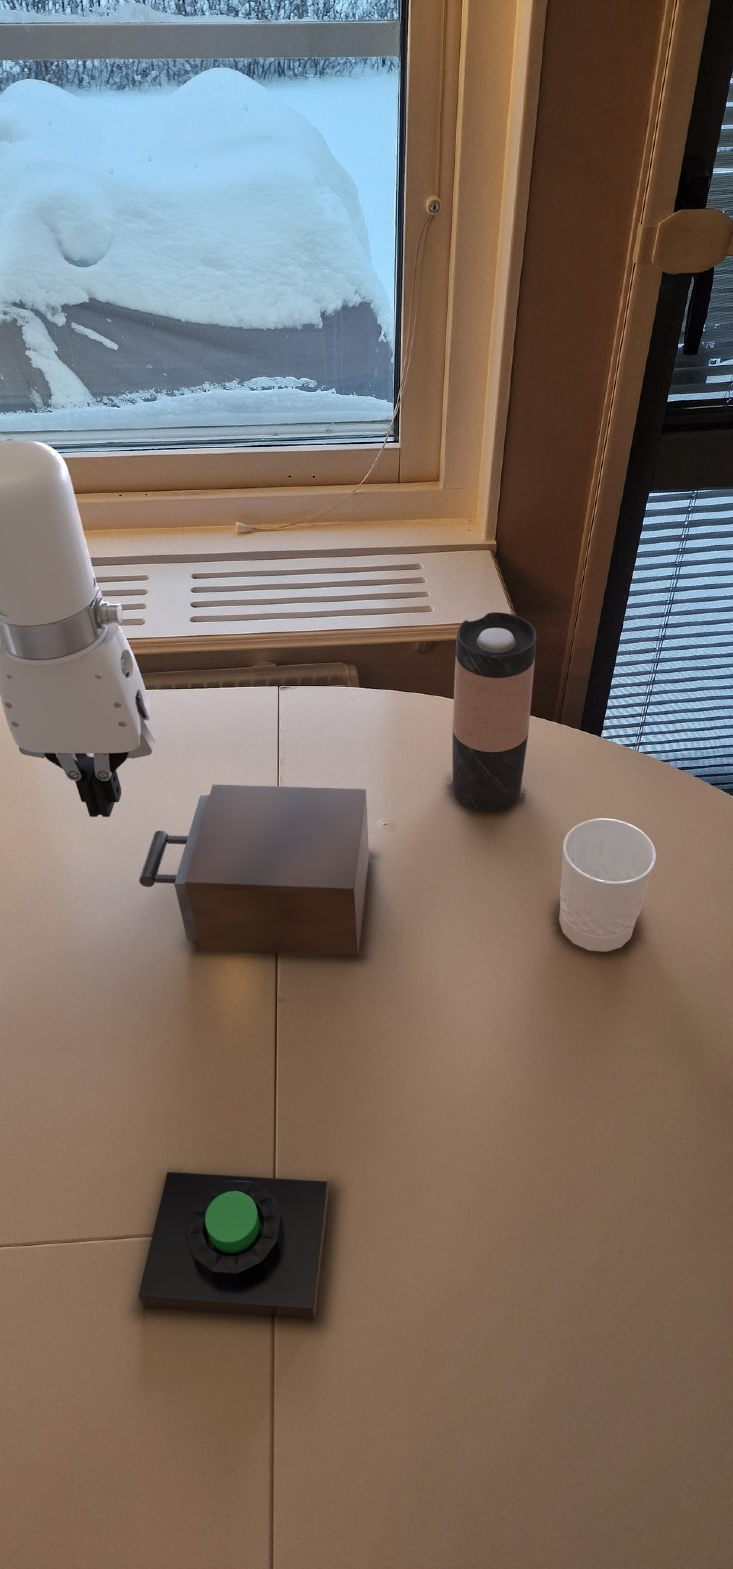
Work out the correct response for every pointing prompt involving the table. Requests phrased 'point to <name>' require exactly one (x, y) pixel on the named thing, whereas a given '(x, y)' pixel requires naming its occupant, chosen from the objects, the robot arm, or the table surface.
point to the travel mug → (491, 709)
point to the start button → (232, 1222)
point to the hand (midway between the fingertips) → (104, 805)
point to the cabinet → (280, 871)
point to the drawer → (155, 858)
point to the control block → (244, 1282)
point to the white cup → (603, 882)
